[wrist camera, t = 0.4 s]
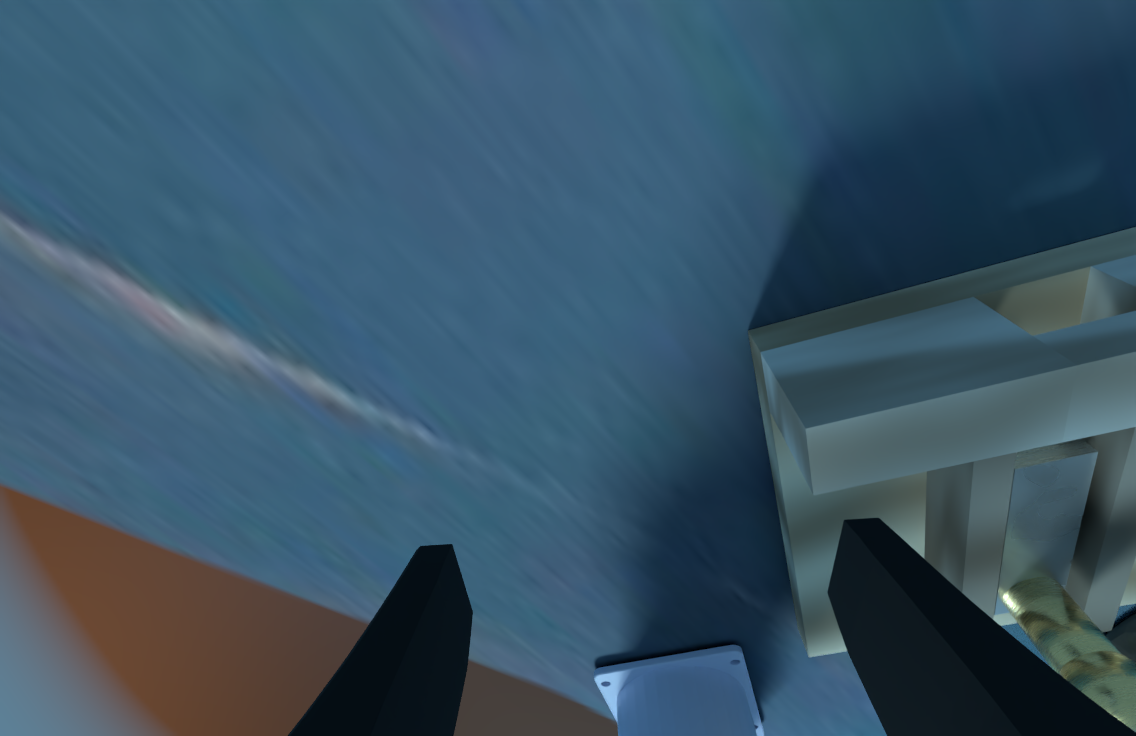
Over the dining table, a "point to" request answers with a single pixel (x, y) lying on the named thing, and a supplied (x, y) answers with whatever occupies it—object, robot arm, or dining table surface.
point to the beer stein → (1125, 637)
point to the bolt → (1059, 575)
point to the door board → (956, 421)
